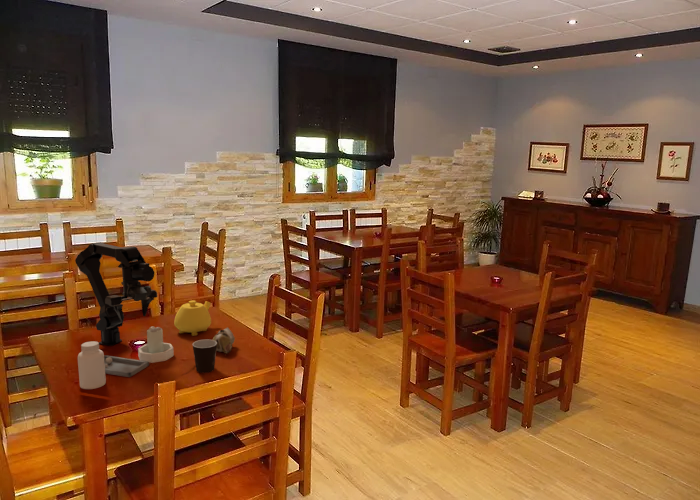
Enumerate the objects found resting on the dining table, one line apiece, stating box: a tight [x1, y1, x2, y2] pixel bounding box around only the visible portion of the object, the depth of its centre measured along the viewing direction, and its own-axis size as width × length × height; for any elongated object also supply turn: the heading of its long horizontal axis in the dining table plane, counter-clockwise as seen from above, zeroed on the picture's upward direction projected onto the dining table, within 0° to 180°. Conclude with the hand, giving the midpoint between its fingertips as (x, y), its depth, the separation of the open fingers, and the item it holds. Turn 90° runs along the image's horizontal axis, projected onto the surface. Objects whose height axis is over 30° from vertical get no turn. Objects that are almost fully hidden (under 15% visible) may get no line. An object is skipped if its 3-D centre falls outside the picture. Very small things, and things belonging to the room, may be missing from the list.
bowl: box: [137, 342, 175, 364], centre depth 206 cm, size 12×12×4 cm
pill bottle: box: [77, 340, 107, 390], centre depth 180 cm, size 8×8×15 cm
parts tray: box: [104, 354, 150, 378], centre depth 194 cm, size 19×11×3 cm, turn 75°
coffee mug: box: [191, 338, 217, 374], centre depth 198 cm, size 12×9×10 cm
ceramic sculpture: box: [212, 326, 236, 354], centre depth 216 cm, size 11×9×15 cm
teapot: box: [173, 299, 212, 337], centre depth 238 cm, size 20×16×14 cm
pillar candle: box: [146, 326, 164, 354], centre depth 205 cm, size 6×6×12 cm
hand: (133, 318), depth 211 cm, fingers open, 9 cm apart
